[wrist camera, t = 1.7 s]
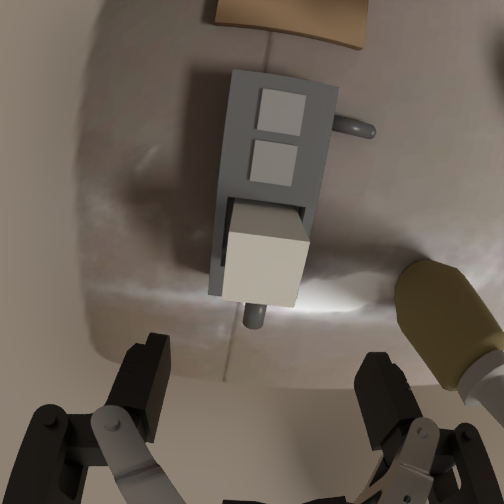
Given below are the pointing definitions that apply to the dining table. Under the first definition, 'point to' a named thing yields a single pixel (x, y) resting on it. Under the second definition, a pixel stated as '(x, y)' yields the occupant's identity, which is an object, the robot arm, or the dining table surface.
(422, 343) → the squeeze bottle
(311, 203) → the power strip
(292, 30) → the walnut board
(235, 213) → the block
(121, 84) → the dining table surface
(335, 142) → the dining table surface
